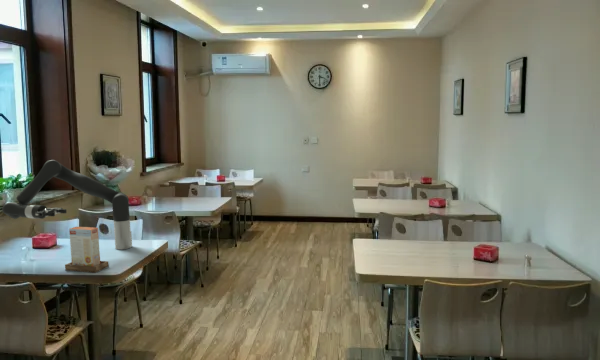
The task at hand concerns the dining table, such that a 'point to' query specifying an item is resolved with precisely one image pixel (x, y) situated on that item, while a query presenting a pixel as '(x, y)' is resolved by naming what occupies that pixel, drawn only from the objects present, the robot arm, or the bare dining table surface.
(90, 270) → the tray
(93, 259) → the cracker box
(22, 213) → the robot arm
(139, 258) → the dining table surface
